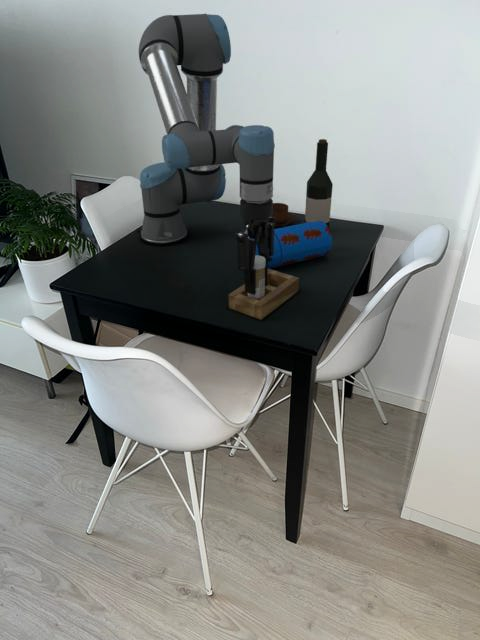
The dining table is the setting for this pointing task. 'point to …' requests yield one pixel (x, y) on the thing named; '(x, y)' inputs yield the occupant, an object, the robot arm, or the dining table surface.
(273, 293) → the holder
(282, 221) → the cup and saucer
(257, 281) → the spice jar
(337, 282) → the dining table surface
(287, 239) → the thermos
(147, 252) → the dining table surface
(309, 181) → the wine bottle
